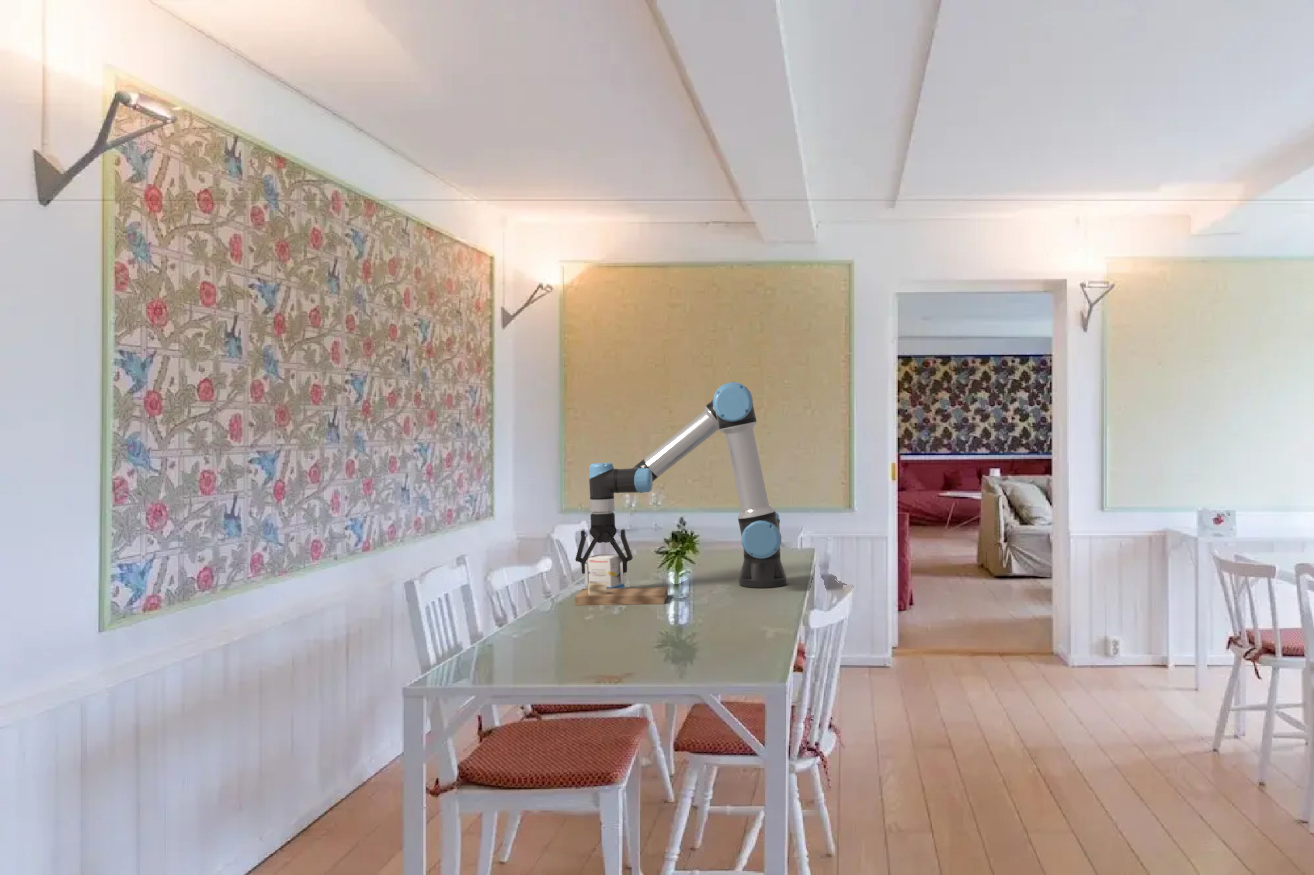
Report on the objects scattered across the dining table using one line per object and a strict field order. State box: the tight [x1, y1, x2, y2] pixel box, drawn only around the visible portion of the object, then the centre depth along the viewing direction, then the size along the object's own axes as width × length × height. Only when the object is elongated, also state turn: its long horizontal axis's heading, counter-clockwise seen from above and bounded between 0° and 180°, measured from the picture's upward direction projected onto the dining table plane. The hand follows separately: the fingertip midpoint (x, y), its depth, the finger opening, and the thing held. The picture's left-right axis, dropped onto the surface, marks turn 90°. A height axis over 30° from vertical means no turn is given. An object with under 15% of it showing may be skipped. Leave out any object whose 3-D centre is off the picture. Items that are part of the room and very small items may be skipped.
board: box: [574, 586, 669, 606], centre depth 303 cm, size 26×14×3 cm, turn 85°
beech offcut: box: [587, 582, 607, 596], centre depth 300 cm, size 5×4×3 cm
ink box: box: [586, 553, 626, 588], centre depth 317 cm, size 9×8×12 cm
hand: (604, 583), depth 316 cm, fingers closed on ink box, 10 cm apart
